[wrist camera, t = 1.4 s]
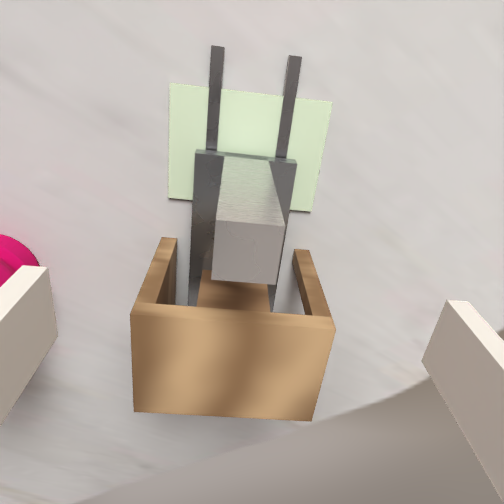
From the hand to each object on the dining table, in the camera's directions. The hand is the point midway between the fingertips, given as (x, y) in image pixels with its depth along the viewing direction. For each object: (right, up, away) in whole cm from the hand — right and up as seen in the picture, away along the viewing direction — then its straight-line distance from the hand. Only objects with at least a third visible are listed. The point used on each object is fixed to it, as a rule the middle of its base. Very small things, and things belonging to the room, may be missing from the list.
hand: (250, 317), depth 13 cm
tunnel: (-2, -1, +20) cm, 20 cm away
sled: (-1, +1, +19) cm, 19 cm away
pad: (0, +9, +15) cm, 18 cm away
